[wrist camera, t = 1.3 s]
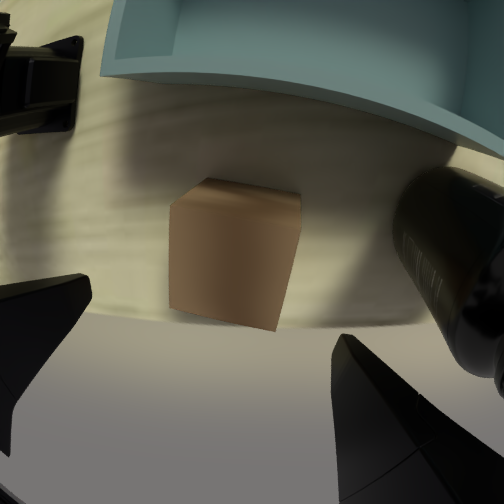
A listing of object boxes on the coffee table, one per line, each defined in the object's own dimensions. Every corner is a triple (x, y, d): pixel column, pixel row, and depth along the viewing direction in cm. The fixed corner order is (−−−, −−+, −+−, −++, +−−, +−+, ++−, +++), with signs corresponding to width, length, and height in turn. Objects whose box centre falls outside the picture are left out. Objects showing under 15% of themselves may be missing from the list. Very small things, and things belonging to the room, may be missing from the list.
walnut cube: (200, 258, 18) (169, 307, 13) (207, 177, 15) (170, 205, 11) (282, 275, 17) (275, 331, 13) (300, 194, 15) (300, 229, 10)
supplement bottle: (461, 281, 15) (544, 429, 5) (374, 262, 16) (437, 461, 5) (498, 183, 12) (640, 289, 2) (408, 146, 13) (597, 247, 2)
